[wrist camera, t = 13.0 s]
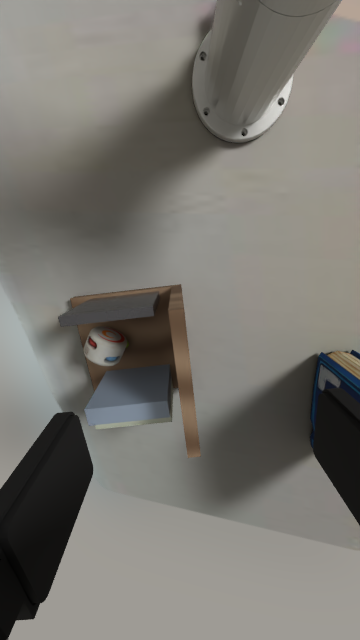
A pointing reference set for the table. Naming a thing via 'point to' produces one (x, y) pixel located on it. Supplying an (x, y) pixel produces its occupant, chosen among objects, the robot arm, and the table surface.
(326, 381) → the book
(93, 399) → the standing books
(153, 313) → the bookend
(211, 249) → the table surface
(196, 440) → the shelf
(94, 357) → the roller toy
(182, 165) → the table surface
